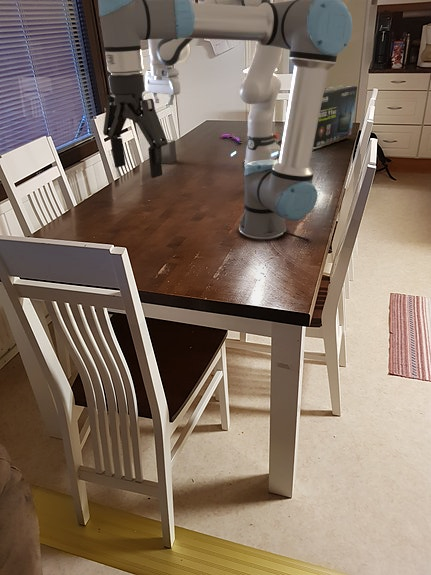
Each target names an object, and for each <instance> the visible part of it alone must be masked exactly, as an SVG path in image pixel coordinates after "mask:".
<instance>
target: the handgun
mask: <svg viewBox="0 0 431 575" xmlns="http://www.w3.org/2000/svg"><path fill="white" fill-rule="evenodd" d="M231 134H232V135H233V134H234V133H229V134H228V133H227V134H226V133H225V134H221V135H222V136H228V135H231ZM221 135H220V137H221V138H222V139H230V138H229V137H222V136H221ZM234 135H235V134H234ZM234 135H233V137H234V138H236V139H237V141H238V142H242V143H238V142H237V141H236V140H235V139H233V138H231V139H232V140H233V141H236V142H237V143H238V145H242V144H243V141H242V140H241V139H240V138H239V137H238V136H236V135H235V136H236V137H235V136H234Z"/></svg>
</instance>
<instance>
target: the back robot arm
mask: <svg viewBox="0 0 431 575" xmlns="http://www.w3.org/2000/svg"><path fill="white" fill-rule="evenodd" d="M202 3H204V4H220V5H236V6H252V7H259V6H260V5H261V4H262V3H275V0H204V1H203V2H202ZM193 40H194V39H193V38H179V39H177V38H171V39H147V41H148V42H147V44H148V45H147V46H148V54H149V57H150V59H149V66H150V67H149V68H150V69H147V71H146V72H145V76H144V82H145V91H146V92H147V93H151V96H152V99H153V101H154V104H160V98H158V96H157V95H158V94H162V95H168V100H167V106H173V105H174V100H175V96H177V95H180V94H181V81H180V77H179V75H180V70H179V69H177V68H175V67H173V66H174V65H176V64H180V63H183V62H185V61H187V60H188V58H189V57H190V55H191V45H190V43H191V42H192V41H193ZM255 42H256V43H255V47H254V53H253V57H252V59H251V63H250V65H249V68H248V70H247V73H246V75H245V77H244V80H243V81H242V82H241V84H240V85H239V90H238V92H239V94H238V95H239V97H240V99H241V101H242V102H243V103H245V104H248V105H251V107H250V111H249V113H248V114H247V134H246V148H245V156H244V157H245V158H244V161H245V162H244V161H243V163H244V165H243V167H244V168H245V166H246V165H247V164H248V163H250V162H253V161H259V160H279V156H280V150H281V145H279V143H277V144H276V140H279V136H280V135H279V134H277V133H273V130H274V129H273V125H274V113H275V108H276V104H277V100H278V95H279V92H280V91H281V87H282V81H281V79H280V77H279V75H277V74H275V73H276V72H275V71H276V69H277V67H278V66H279V64H280V63H281V58H282V54H283V50H284V48H280V47H275V46H268V45H259V44H258V43H257V41H255ZM275 139H276V140H275ZM235 154H237V151H234V152H232V153H231V154H230V157H233V156H234V155H235Z"/></svg>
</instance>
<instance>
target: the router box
mask: <svg viewBox="0 0 431 575" xmlns="http://www.w3.org/2000/svg"><path fill="white" fill-rule="evenodd" d="M357 93H358V86H356V85H350V84H339V85H338V84H337V85H334V86H328V87H325V88H324V94H323V99H322V104H321V109H320V114H319V119H318V124H317V130H316V135H315V140H314V145H313V147H317V146H320V145H323V144H325V143H328V142H331V141H333V140H336V139H338V138H341V137H344V136H347V135H351V136H352V133H353V132H352V131H353V125H354V115H355V109H356V99H357Z"/></svg>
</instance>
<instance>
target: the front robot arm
mask: <svg viewBox="0 0 431 575" xmlns="http://www.w3.org/2000/svg"><path fill="white" fill-rule="evenodd" d="M97 2H98V3H97V4H98V6H97V7H98V17H99V20H100V27H101V33H102V34H101V35H102V41H103V46H104V53H105V60H106V68H107V72H108V73H110V74H109V76H108V77H107V78H108V84H109V90H110V91H109V92H110V93H111V94H109V95H106V96H105V97H106V98H105V100H106V108H105V109H106V110H105V116H104V122H103V130H102V133H103V135H104V136H107V137H108V139H109V142H110V145H111V151H112V155H113V163H114V168H115V169H118V168H121V167H124V166H126V157H125V149H124V143H123V138H122V131H123V128H124V126H125V125H126V121H127V119H129V120H130V121H133V123H134V124H137V126H138V128H139V129H140V131H141V133H142V134H143V136H144V138H145V140H146V141H147V143H148V145H149V147H148V149H147V150H148V159H149V168H150V177H151V179H155V178H157V177H161V176H163V167H162V166H163V164H162V163H161V162H162V153H161V147H162V146H164V145H167V144H168V142H167V139H168V138H167V137H166V134H165V131H164V129H163V126H162V124H161V121H160V119H159V115H158V114H157V111H156V107H155V103H154V98H148V99H144V97H143V93H144V92H145V91H146V89H145V75H144V74H143V72H142V71H143V70H144V63H143V54H142V45H141V41H148V39H171V38H177V39H179V38H193V40H195V39H197V40H221V41H223V40H224V41H254V42H257V43H258V44H259V45H268V46H275V47H280V48H283V50H289V52H290V53H289V60H290V63H292V65H293V72H292V77H291V84H290V89H289V95H288V101H287V108H286V113H285V120H284V125H283V133H282V138H281V139H282V140H281V144H280V147H281V150H280V156H279V160H259V161H253V162H250V163H248V164H247V165H246V166H245V167H244V172H243V173H244V174H243V177H244V179H243V180H244V211H243V213H242V216H241V220H240V221H239V224H238V225H239V226H238V232H239V235H240V236H241V237H242V238H244V239H247V240H250V241H254V242H271V241H277V240H279V239H281V238H283V237H285V235H287V236H289V237H294V238H296V239H300V240H303V241H306V242H309V238H307V237H305V236H301V235H299V234H295V233H291V232H288V231H287V223H286V221H285V220H287V221H291V222H292V221H294V222H295V221H298V220H299V221H300V220H302V219H303V218H305V217H306V216H307V215H308V214H310V213H311V212H313V210H314V208H315V206H316V204H317V201H318V190H317V189H316V186H315V185H314V184H313V178H314V173H315V172H314V170H313V169H312V167H311V160H312V155H313V151H314V150H313V145H314V140H315V135H316V130H317V124H318V119H319V114H320V109H321V104H322V99H323V94H324V88H326V84H327V83H326V82H327V77H328V73H329V70H330V69H331V68H332V67H333V66H335V65H336V64H337V59H338V54H339V53H341V52H343V50H345V47H347V46H348V45H349V42H350V40H351V37H352V34H353V17H352V14H351V12H350V10H349V8H348V6H347V5H346V4H345V2H344V1H342V0H287V1H279V2H274V3H262V4H261V5H260V6H259V7H252V6H236V5H220V4H204V3H203V2H192V1H191V0H97Z"/></svg>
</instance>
